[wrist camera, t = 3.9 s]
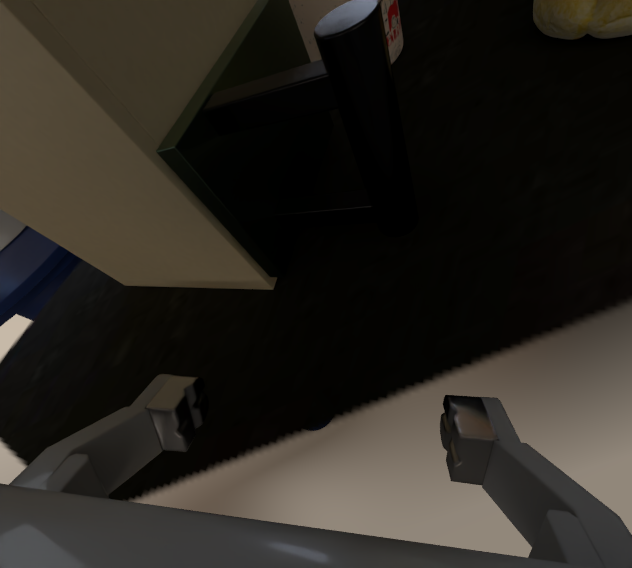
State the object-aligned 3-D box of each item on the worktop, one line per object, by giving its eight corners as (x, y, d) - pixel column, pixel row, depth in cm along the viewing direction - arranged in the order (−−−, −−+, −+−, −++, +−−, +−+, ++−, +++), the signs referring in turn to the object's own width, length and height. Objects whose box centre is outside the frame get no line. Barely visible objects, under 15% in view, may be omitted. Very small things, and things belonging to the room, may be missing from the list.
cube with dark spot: (324, 139, 26) (179, -220, 13) (273, 290, 20) (-111, -114, 7) (195, 164, 32) (8, -63, 19) (125, 286, 26) (-227, 71, 13)
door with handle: (434, 103, 21) (415, -117, 14) (415, 278, 15) (362, 58, 8) (197, 154, 31) (106, 39, 23) (126, 276, 24) (-32, 176, 17)
